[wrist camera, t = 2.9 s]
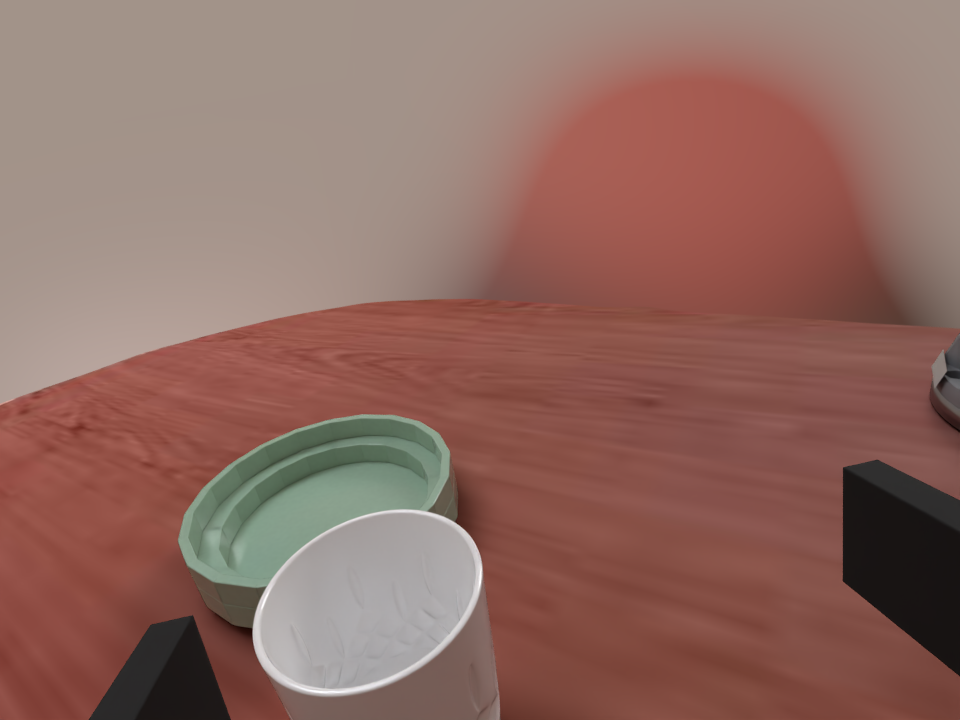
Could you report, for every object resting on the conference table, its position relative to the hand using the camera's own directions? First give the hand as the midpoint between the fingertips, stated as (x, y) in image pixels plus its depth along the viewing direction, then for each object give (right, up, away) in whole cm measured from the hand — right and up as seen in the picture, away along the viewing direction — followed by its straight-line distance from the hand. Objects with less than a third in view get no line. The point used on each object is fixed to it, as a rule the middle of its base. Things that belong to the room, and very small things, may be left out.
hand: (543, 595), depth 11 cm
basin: (-11, -7, +26) cm, 29 cm away
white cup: (-3, -12, +12) cm, 18 cm away
